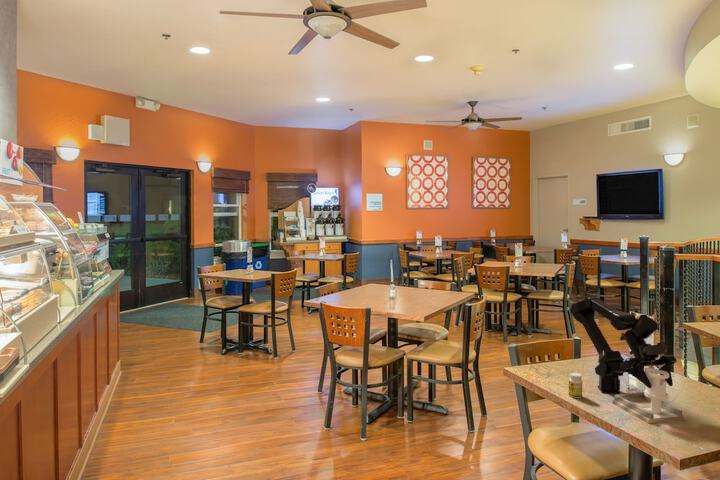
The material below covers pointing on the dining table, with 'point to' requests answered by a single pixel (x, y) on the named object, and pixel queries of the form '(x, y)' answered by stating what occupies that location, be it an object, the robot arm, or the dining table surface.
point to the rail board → (646, 408)
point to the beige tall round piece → (656, 388)
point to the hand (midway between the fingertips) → (661, 386)
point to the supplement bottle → (575, 385)
